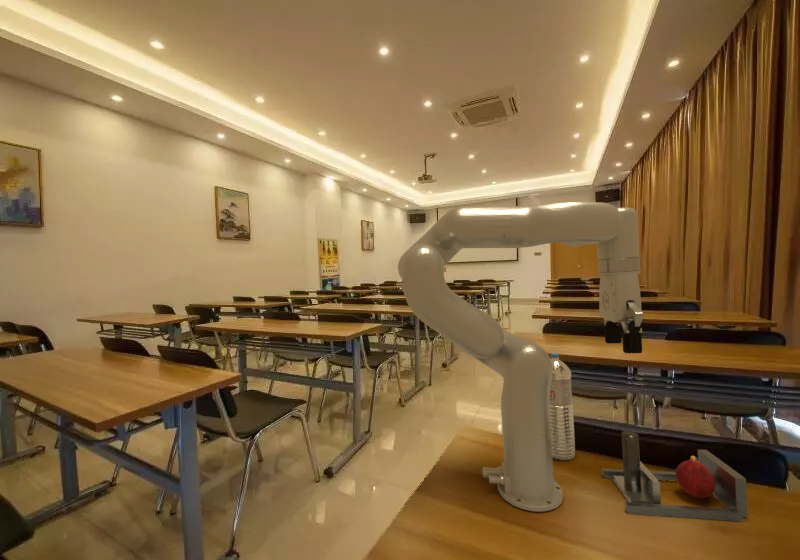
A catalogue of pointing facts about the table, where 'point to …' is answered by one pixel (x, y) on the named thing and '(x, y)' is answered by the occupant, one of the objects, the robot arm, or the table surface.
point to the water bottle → (561, 411)
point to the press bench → (726, 490)
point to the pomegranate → (695, 478)
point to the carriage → (636, 474)
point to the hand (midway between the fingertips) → (622, 347)
